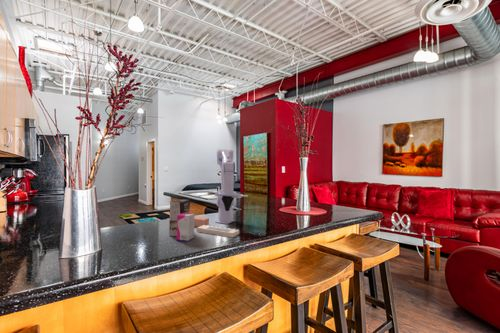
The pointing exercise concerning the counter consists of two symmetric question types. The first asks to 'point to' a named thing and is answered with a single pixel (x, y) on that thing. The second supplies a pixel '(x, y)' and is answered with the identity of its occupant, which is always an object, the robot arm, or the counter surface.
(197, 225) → the stub tab
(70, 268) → the counter surface
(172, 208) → the coffee box
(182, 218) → the supplement box
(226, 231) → the ticket board
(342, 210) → the counter surface
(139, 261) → the counter surface
